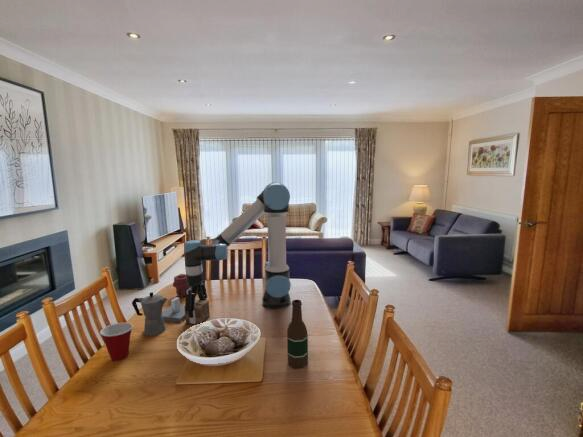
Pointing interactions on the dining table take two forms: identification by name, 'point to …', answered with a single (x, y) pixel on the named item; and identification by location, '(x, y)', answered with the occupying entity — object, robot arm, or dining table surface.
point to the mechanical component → (180, 284)
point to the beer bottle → (297, 338)
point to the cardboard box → (199, 311)
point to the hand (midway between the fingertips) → (197, 318)
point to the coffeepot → (151, 313)
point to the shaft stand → (174, 311)
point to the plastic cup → (117, 340)
